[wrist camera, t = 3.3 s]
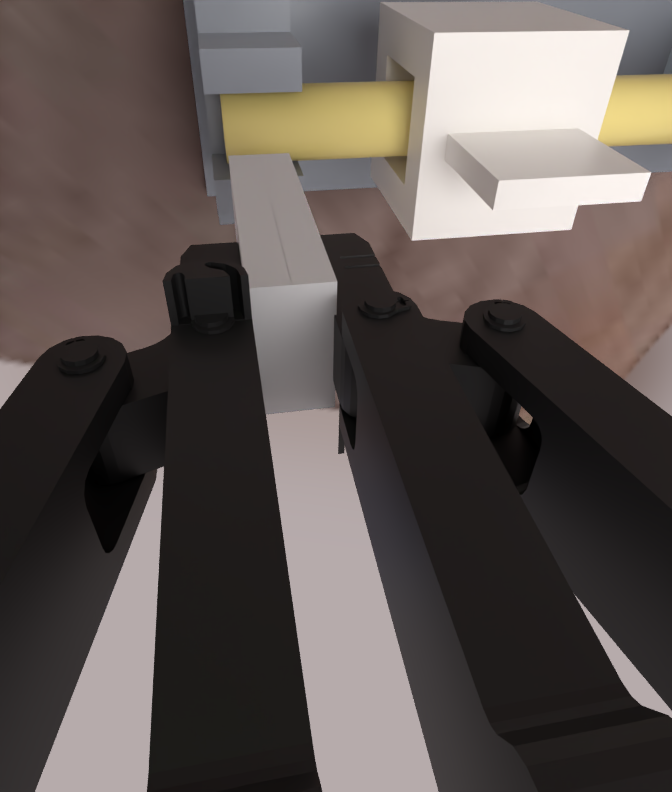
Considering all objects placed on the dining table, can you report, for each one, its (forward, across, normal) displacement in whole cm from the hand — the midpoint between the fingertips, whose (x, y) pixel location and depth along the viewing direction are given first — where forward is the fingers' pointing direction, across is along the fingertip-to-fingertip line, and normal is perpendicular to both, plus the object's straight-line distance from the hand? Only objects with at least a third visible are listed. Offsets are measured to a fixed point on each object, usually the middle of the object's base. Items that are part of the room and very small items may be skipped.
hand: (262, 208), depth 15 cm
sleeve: (+10, +8, 0) cm, 13 cm away
